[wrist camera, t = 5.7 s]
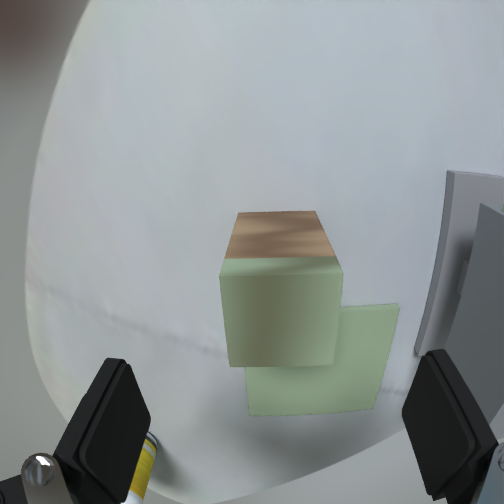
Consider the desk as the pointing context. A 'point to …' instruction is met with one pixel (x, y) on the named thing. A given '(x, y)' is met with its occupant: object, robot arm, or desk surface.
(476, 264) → the mounted unit
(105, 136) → the desk surface
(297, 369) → the mat
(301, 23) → the desk surface
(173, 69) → the desk surface
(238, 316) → the brown and green block
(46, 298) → the desk surface
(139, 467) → the pill bottle
